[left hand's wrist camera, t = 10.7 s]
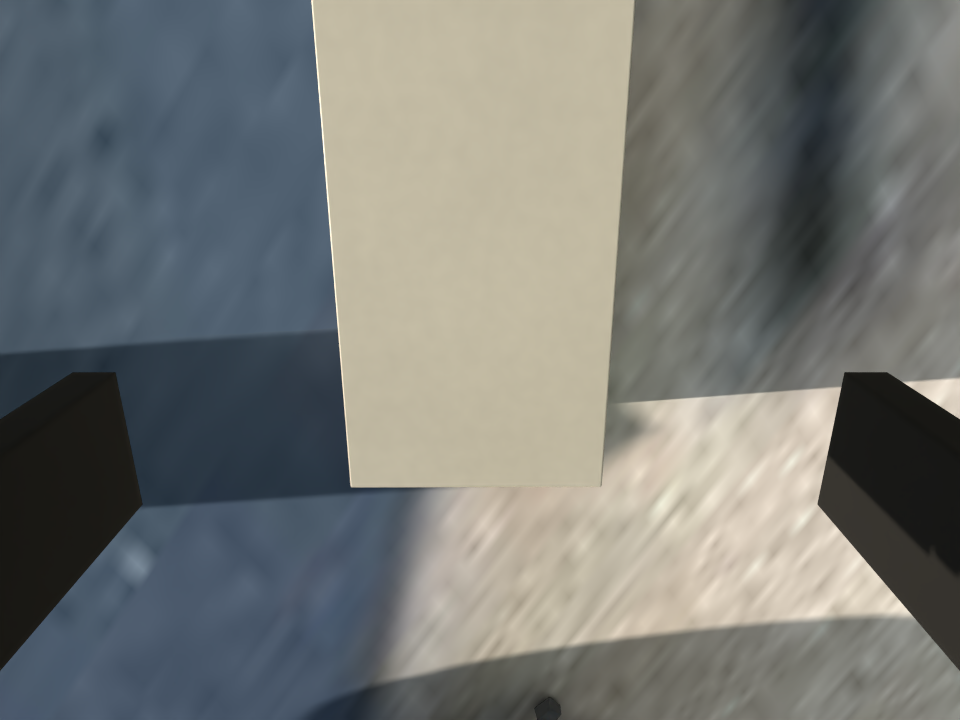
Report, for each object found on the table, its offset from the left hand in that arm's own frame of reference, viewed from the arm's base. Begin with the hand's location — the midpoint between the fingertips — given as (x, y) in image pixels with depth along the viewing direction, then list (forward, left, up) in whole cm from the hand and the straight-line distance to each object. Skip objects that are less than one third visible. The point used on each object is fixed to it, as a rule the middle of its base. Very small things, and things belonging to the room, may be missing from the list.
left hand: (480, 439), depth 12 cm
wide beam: (+19, +14, -18) cm, 30 cm away
